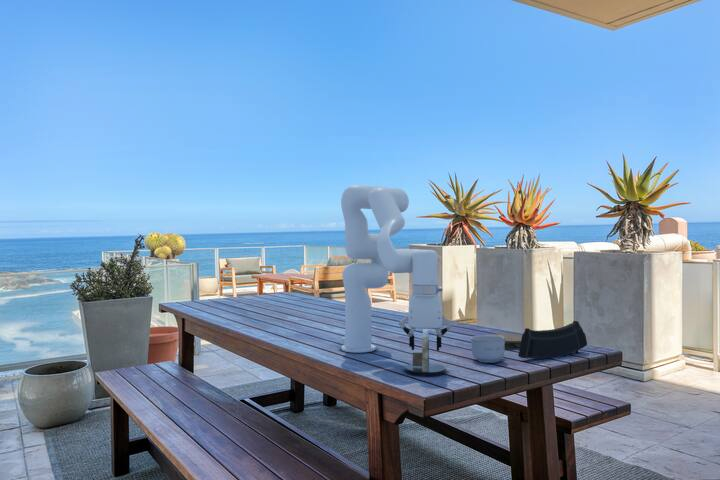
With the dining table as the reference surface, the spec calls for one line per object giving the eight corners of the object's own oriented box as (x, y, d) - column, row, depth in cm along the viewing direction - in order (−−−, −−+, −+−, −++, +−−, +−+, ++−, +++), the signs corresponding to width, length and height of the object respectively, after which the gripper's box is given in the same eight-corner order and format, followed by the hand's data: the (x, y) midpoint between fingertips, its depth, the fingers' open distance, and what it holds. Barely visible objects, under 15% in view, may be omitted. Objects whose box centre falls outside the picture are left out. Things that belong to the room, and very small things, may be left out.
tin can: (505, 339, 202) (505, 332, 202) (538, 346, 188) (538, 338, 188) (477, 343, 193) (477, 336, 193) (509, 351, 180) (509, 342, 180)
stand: (397, 370, 152) (397, 366, 152) (425, 364, 160) (425, 361, 160) (425, 378, 143) (425, 374, 143) (454, 372, 150) (454, 368, 150)
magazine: (519, 335, 161) (579, 302, 175) (512, 333, 164) (571, 301, 178) (531, 384, 163) (589, 348, 177) (523, 381, 166) (581, 346, 180)
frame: (411, 371, 145) (411, 337, 145) (413, 360, 159) (413, 329, 159) (428, 372, 144) (428, 337, 144) (429, 361, 158) (428, 329, 158)
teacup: (486, 366, 157) (486, 340, 157) (463, 359, 166) (463, 335, 167) (519, 361, 163) (519, 337, 163) (495, 355, 173) (495, 332, 173)
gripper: (453, 289, 154) (454, 347, 154) (397, 289, 156) (397, 346, 156) (454, 291, 146) (455, 353, 146) (395, 291, 149) (395, 351, 149)
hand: (425, 349), depth 151 cm, fingers open, 6 cm apart
